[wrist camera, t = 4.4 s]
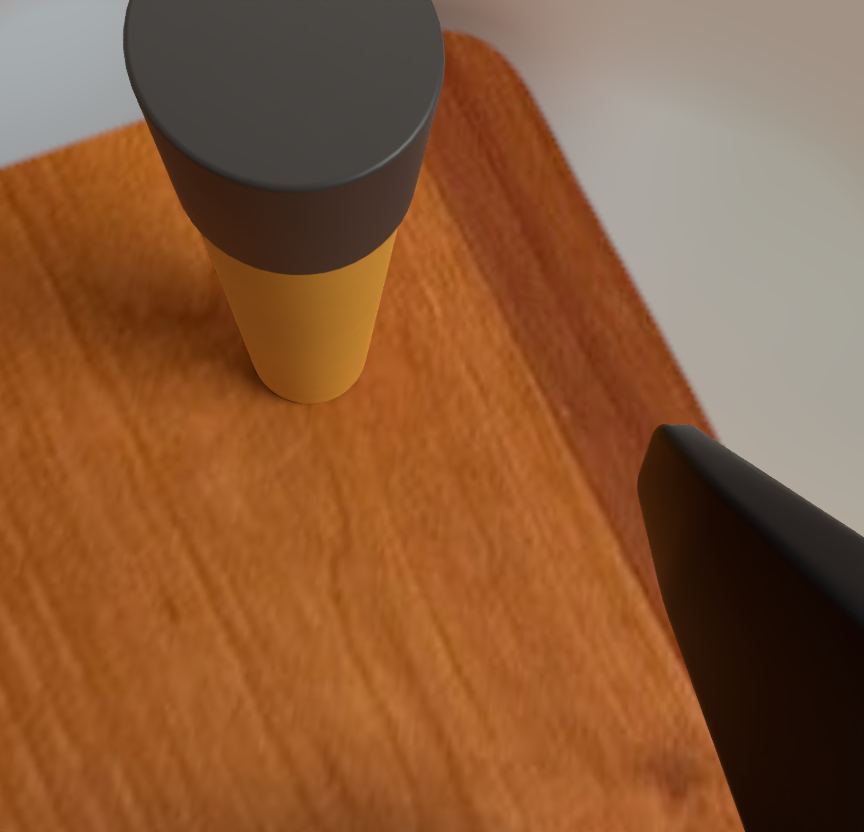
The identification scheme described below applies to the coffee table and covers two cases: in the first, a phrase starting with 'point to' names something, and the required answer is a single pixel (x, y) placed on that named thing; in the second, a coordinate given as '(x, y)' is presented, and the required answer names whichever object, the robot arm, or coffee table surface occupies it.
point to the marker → (292, 160)
